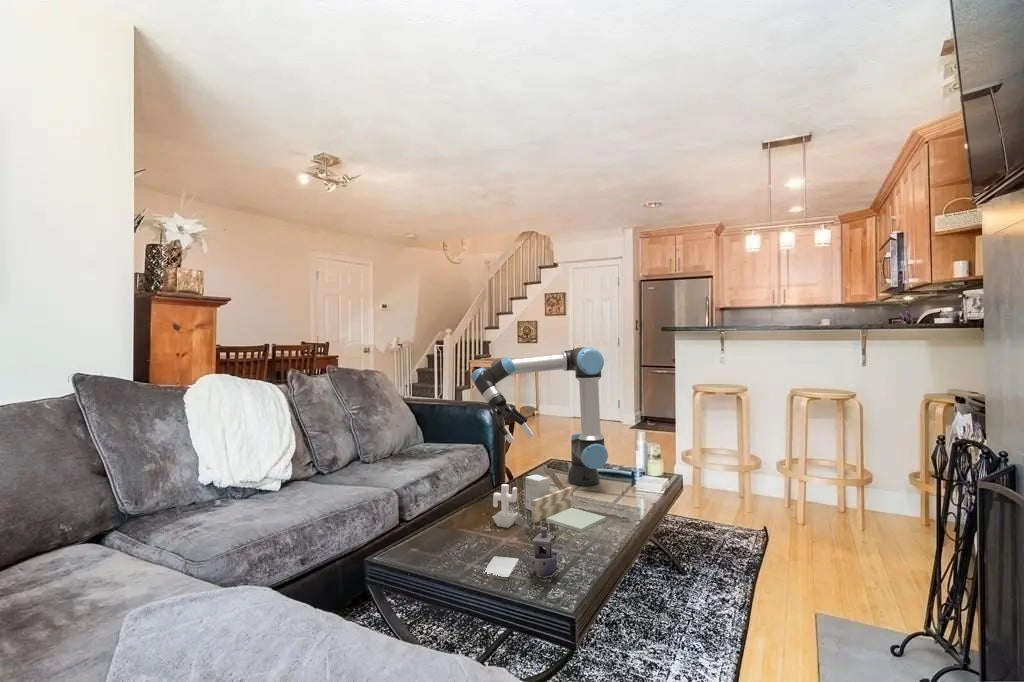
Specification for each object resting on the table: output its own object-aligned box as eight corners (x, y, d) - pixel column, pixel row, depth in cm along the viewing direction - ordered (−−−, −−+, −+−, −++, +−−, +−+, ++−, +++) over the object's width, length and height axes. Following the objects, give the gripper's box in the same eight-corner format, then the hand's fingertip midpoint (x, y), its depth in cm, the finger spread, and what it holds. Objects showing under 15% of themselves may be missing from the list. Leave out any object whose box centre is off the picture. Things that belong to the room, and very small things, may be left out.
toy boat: (537, 562, 156) (536, 519, 156) (562, 565, 154) (562, 521, 154) (524, 585, 142) (524, 538, 142) (552, 589, 139) (552, 541, 139)
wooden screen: (569, 506, 208) (569, 486, 208) (572, 506, 207) (572, 487, 207) (531, 521, 191) (531, 500, 191) (534, 522, 190) (534, 501, 190)
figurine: (497, 519, 193) (497, 480, 193) (520, 523, 189) (520, 483, 189) (489, 526, 186) (489, 485, 186) (512, 530, 183) (512, 488, 183)
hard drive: (493, 555, 159) (481, 573, 147) (519, 558, 157) (508, 576, 145) (493, 561, 159) (481, 579, 147) (519, 563, 157) (508, 582, 145)
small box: (550, 510, 203) (549, 477, 203) (538, 513, 199) (538, 480, 199) (536, 505, 210) (536, 473, 210) (525, 508, 206) (524, 476, 206)
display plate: (571, 510, 203) (571, 507, 203) (605, 520, 192) (605, 516, 192) (546, 521, 191) (546, 518, 191) (581, 532, 180) (581, 528, 180)
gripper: (507, 402, 231) (533, 440, 222) (470, 407, 211) (497, 448, 202) (517, 391, 227) (543, 429, 218) (480, 395, 208) (508, 437, 199)
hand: (521, 438), depth 210 cm, fingers open, 13 cm apart
